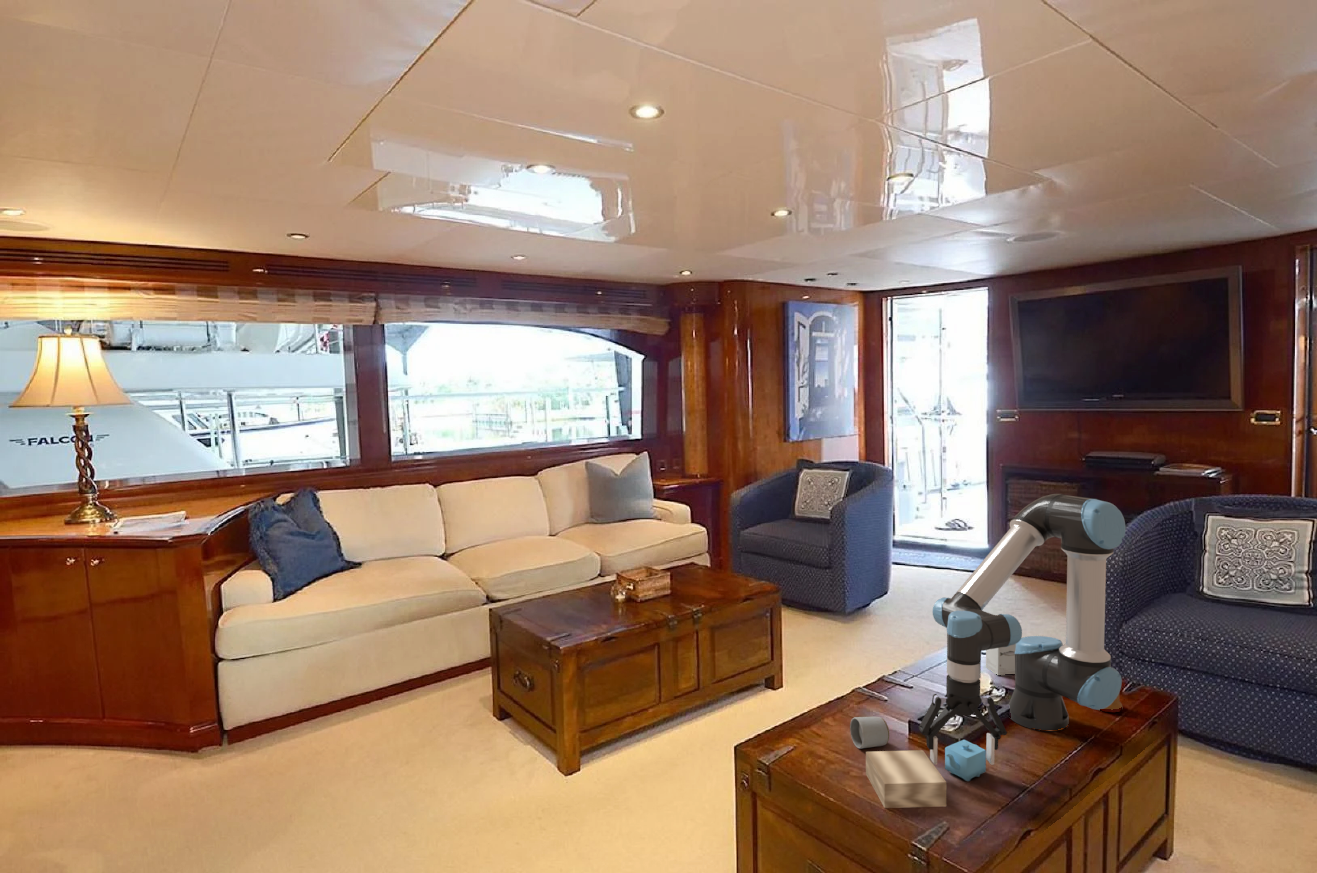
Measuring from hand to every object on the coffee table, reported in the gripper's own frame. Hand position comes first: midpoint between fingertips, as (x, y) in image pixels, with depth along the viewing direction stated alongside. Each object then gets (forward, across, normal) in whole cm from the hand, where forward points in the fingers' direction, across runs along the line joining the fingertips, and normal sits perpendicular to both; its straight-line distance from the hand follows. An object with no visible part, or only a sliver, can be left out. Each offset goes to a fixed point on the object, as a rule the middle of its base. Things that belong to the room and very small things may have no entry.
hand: (961, 761), depth 171 cm
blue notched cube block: (+4, 0, 0) cm, 4 cm away
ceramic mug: (+4, +19, -16) cm, 25 cm away
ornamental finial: (+3, -55, -34) cm, 65 cm away
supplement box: (+3, -37, -61) cm, 72 cm away
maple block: (+4, +16, +6) cm, 17 cm away
